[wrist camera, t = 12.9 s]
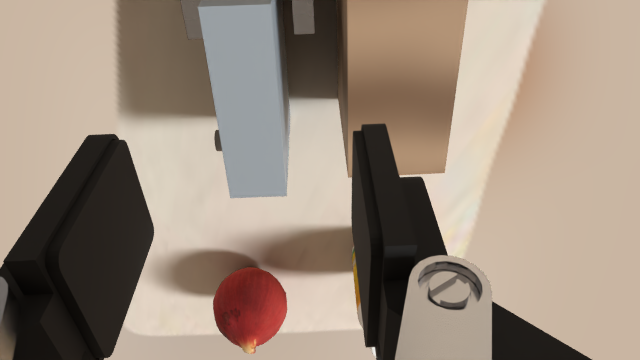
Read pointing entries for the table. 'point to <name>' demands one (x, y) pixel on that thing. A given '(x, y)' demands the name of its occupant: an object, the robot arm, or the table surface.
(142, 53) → the table surface
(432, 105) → the brown tall rectangular block
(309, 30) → the gray wooden bench
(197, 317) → the table surface
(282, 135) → the pale blue tall prism
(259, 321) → the onion
